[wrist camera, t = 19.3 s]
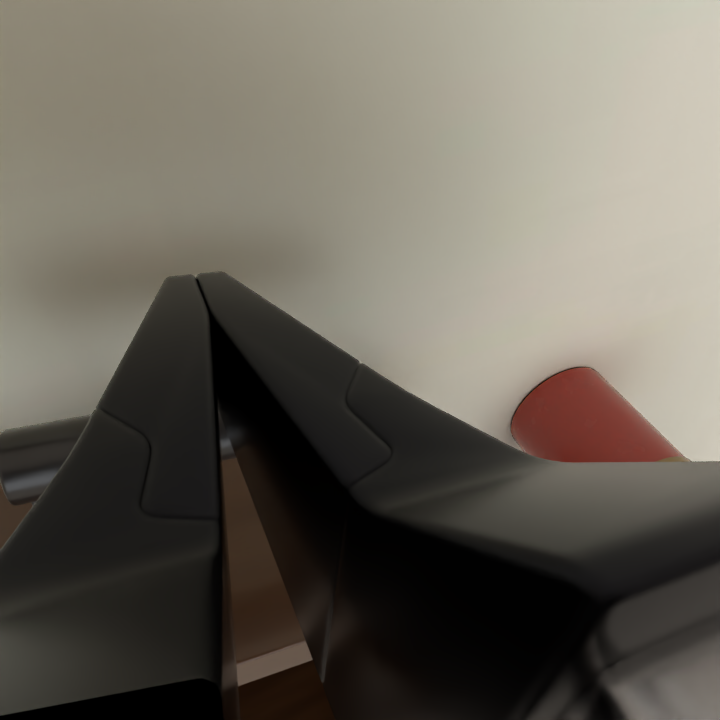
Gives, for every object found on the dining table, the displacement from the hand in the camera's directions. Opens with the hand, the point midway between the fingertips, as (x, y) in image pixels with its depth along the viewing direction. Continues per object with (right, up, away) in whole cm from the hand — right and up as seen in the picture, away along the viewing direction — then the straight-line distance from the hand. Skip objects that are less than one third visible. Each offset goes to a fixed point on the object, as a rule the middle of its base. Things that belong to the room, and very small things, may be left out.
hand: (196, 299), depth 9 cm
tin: (+11, -3, +16) cm, 20 cm away
